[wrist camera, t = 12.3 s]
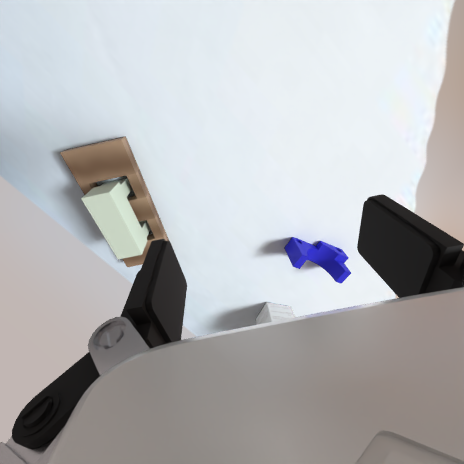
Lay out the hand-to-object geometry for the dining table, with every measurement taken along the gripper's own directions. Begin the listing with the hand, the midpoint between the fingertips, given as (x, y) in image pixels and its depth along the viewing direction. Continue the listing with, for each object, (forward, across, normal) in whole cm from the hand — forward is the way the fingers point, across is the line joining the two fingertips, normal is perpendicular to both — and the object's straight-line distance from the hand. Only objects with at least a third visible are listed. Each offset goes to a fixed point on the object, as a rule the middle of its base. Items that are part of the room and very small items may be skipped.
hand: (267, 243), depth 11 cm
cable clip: (+29, -14, +25) cm, 41 cm away
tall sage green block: (+28, +19, +8) cm, 35 cm away
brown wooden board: (+28, +19, +8) cm, 35 cm away
